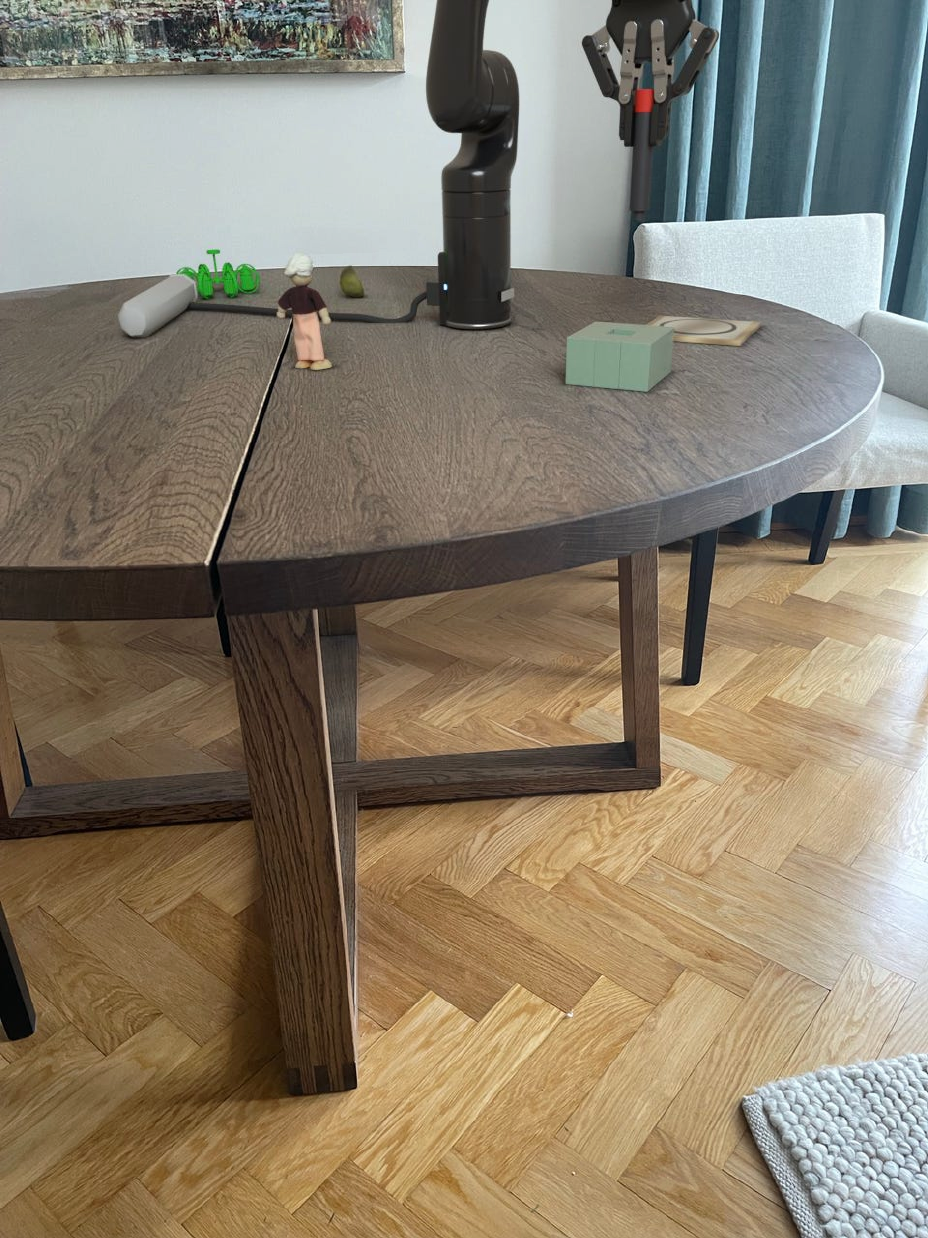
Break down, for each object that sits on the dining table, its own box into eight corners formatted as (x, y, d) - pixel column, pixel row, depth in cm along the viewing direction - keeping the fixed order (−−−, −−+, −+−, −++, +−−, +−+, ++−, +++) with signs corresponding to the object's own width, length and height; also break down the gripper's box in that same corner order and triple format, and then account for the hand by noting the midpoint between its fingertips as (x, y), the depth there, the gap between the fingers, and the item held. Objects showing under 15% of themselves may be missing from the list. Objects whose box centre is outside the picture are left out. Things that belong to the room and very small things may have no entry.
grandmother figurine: (345, 364, 112) (336, 252, 106) (331, 371, 109) (320, 256, 103) (289, 360, 114) (276, 250, 108) (273, 368, 111) (259, 255, 105)
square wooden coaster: (631, 337, 121) (631, 331, 121) (659, 319, 131) (659, 313, 131) (740, 346, 116) (740, 339, 115) (760, 326, 126) (761, 320, 125)
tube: (153, 309, 125) (201, 278, 147) (113, 297, 124) (167, 268, 146) (148, 348, 128) (195, 312, 149) (109, 336, 127) (162, 301, 149)
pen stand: (565, 383, 102) (566, 337, 99) (593, 365, 109) (595, 321, 106) (647, 392, 98) (650, 343, 95) (670, 372, 105) (674, 326, 103)
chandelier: (194, 285, 168) (188, 244, 165) (274, 285, 166) (269, 244, 163) (159, 300, 155) (152, 256, 152) (245, 300, 153) (240, 255, 150)
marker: (625, 221, 97) (632, 89, 91) (631, 219, 99) (639, 89, 93) (645, 221, 96) (653, 88, 90) (651, 219, 98) (659, 88, 92)
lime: (352, 294, 156) (349, 262, 154) (374, 296, 154) (371, 264, 151) (334, 298, 153) (331, 266, 151) (356, 300, 151) (353, 268, 148)
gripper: (739, -66, 86) (719, 143, 94) (597, -52, 92) (590, 145, 100) (721, -79, 80) (702, 146, 88) (570, -62, 86) (565, 148, 94)
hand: (642, 145), depth 94 cm, fingers closed on marker, 2 cm apart
